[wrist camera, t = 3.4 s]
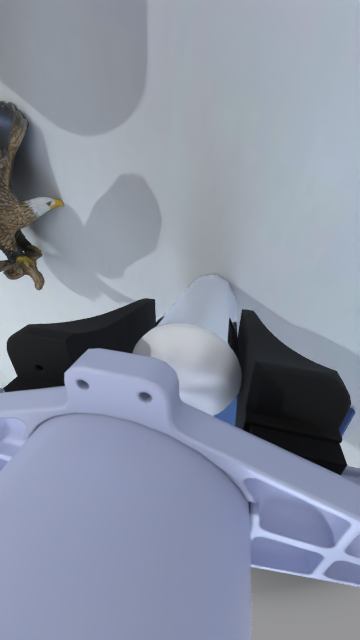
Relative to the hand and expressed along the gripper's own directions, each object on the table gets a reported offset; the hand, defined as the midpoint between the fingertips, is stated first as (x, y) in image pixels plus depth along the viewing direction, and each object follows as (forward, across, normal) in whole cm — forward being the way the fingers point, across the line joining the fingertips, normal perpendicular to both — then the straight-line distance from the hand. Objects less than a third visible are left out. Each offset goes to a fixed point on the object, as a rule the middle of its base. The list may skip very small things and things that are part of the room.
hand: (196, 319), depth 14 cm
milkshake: (+4, 0, 0) cm, 4 cm away
